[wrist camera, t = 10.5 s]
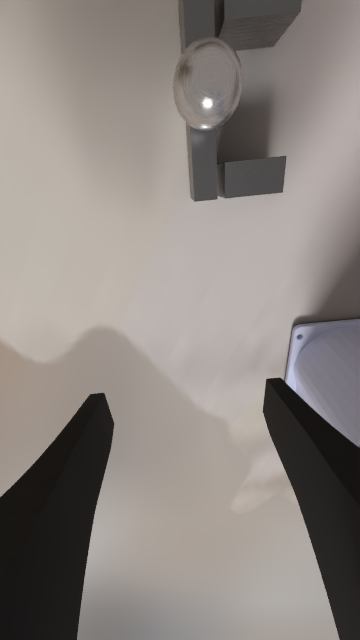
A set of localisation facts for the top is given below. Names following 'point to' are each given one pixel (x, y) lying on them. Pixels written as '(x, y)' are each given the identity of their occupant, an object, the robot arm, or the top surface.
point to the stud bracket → (224, 89)
